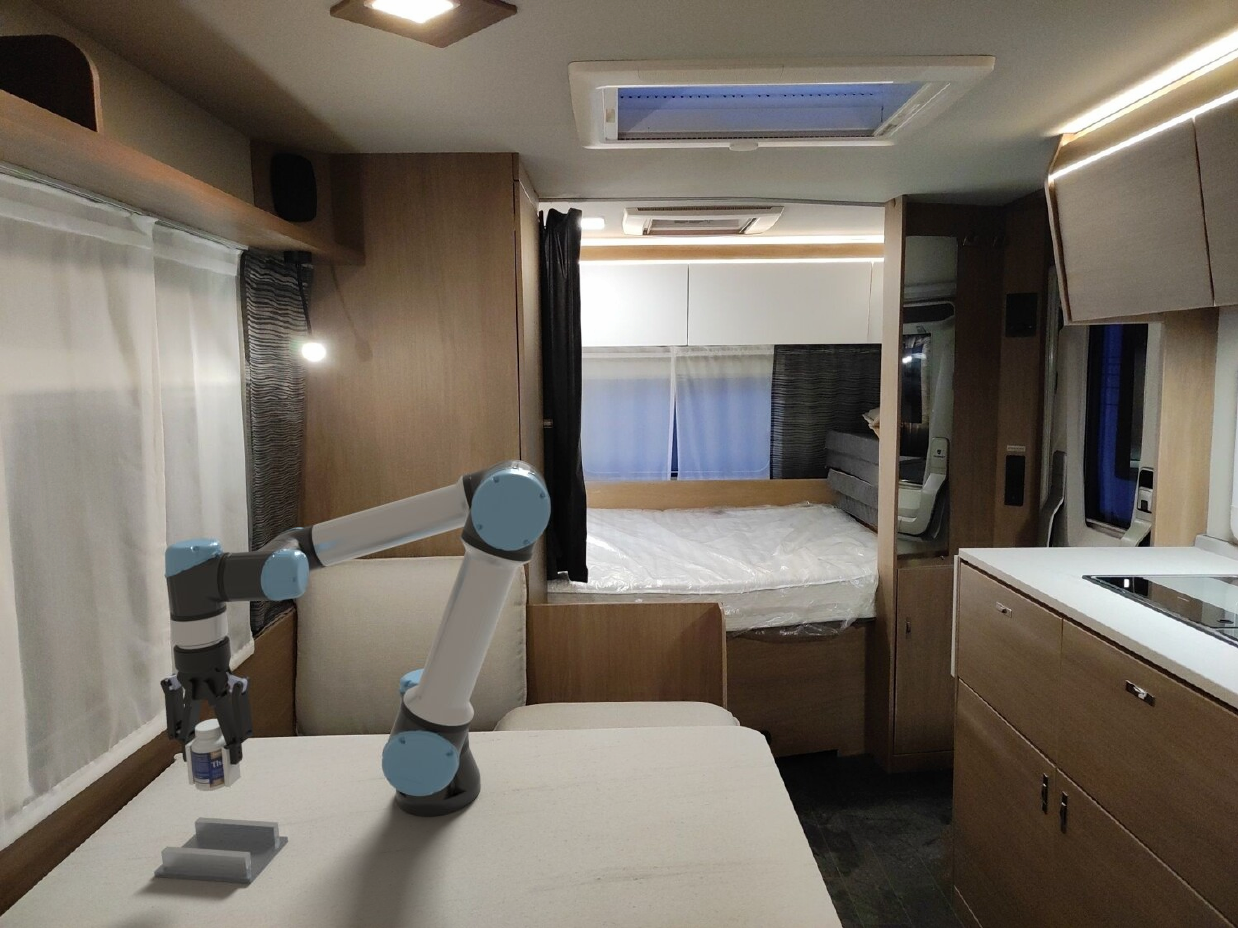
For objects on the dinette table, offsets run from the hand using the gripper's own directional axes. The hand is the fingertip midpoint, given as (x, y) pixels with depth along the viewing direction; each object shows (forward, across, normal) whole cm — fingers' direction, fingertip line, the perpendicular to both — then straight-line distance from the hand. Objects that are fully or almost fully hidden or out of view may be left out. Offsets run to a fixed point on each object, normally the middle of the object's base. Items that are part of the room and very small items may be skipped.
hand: (215, 780), depth 115 cm
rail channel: (+13, 0, 0) cm, 13 cm away
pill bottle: (+1, 0, 0) cm, 1 cm away
